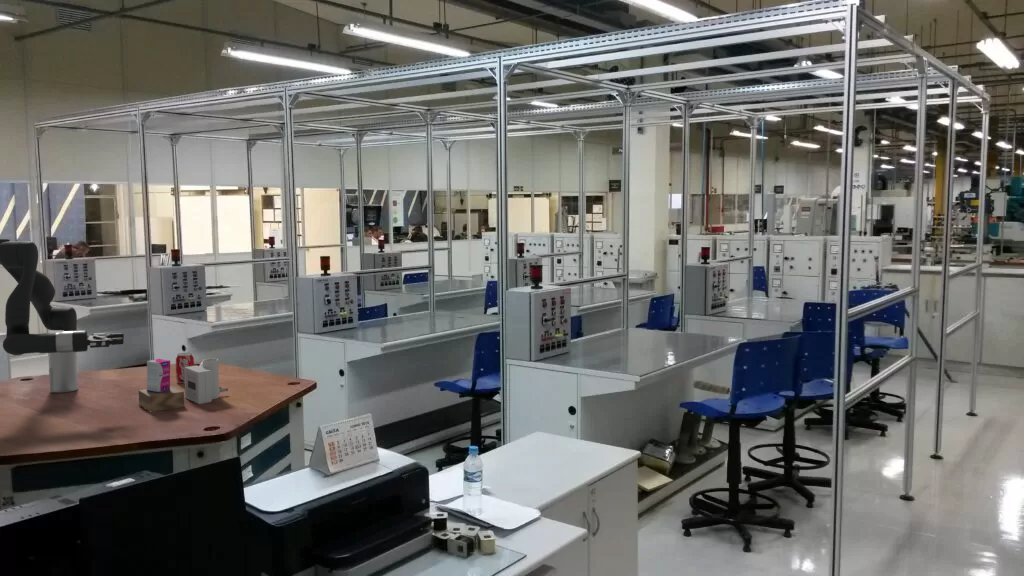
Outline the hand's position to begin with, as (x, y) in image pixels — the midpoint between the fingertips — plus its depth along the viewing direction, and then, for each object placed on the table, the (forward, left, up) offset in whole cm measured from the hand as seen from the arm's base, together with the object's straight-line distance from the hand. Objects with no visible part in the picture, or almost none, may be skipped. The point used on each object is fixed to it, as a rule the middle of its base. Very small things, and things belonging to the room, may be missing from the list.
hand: (123, 338), depth 271 cm
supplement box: (+11, -1, -20) cm, 23 cm away
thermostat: (+29, +5, -26) cm, 39 cm away
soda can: (+22, +36, -26) cm, 50 cm away
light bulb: (+30, +26, -26) cm, 47 cm away
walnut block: (+12, -1, -26) cm, 29 cm away
